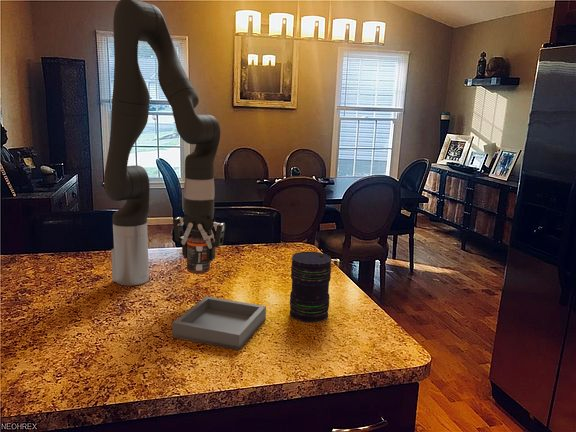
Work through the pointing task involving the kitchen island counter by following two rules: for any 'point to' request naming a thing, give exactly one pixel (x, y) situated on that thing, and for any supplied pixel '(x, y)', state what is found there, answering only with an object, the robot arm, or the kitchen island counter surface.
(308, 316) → the dark cylinder
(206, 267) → the supplement bottle
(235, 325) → the tray
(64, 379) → the kitchen island counter surface
